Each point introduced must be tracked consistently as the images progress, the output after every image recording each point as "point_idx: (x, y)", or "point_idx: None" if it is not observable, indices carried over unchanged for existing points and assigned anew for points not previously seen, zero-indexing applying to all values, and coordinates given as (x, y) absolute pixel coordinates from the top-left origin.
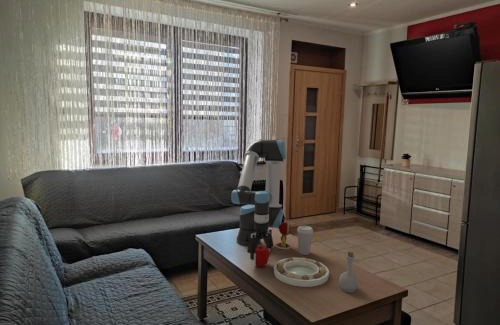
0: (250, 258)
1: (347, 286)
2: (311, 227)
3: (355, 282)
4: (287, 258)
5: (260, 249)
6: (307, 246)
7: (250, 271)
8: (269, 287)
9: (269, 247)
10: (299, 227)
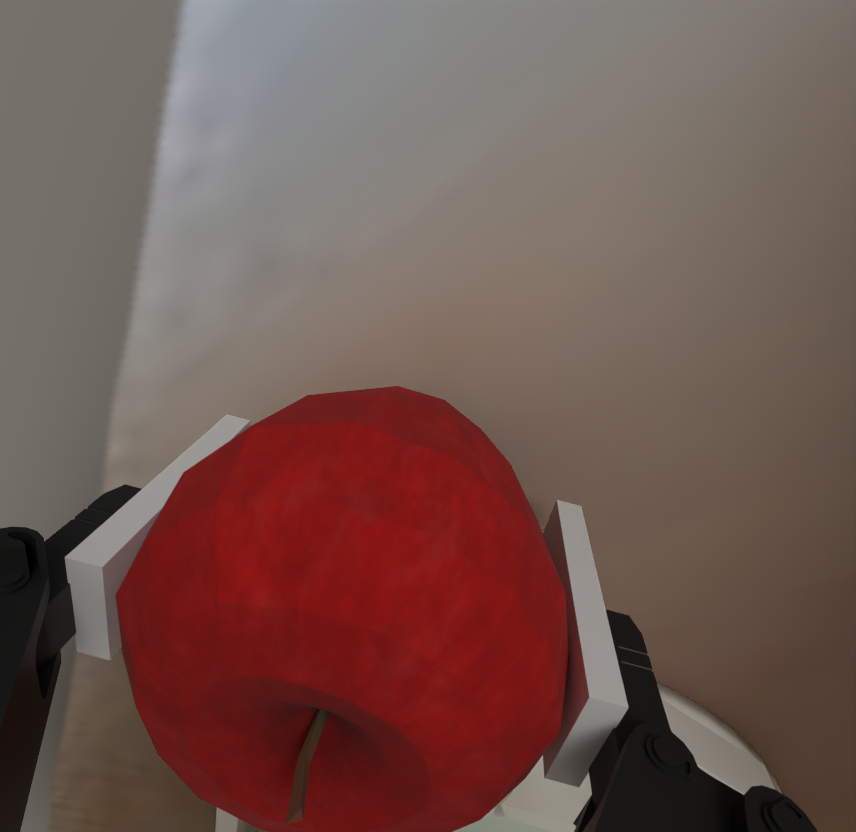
0: (105, 499)
1: None
2: None
3: None
4: (712, 776)
5: (215, 780)
6: None
7: (169, 445)
8: (84, 716)
9: (582, 825)
10: None
